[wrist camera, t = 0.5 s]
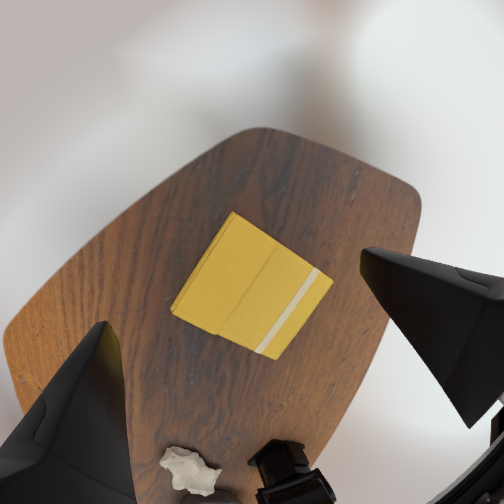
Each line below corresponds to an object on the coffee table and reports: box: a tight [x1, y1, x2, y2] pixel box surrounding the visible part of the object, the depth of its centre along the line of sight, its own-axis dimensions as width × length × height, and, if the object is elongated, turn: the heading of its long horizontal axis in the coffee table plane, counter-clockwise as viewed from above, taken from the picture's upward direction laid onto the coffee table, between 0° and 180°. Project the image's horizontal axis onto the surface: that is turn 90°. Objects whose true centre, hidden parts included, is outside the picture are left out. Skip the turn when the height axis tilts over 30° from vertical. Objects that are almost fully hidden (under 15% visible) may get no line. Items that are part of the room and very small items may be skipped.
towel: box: [171, 211, 334, 360], centre depth 25 cm, size 10×12×1 cm
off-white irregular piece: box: [159, 446, 223, 496], centre depth 27 cm, size 6×10×4 cm, turn 35°
